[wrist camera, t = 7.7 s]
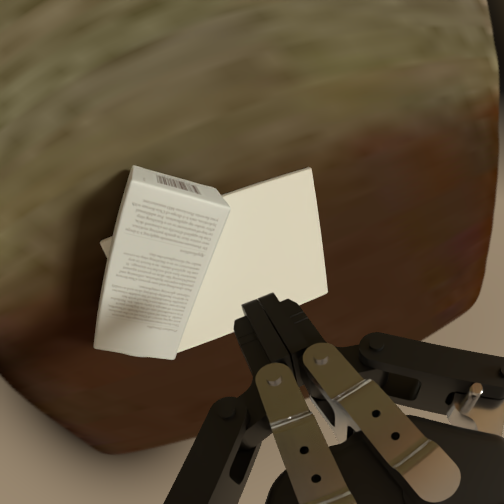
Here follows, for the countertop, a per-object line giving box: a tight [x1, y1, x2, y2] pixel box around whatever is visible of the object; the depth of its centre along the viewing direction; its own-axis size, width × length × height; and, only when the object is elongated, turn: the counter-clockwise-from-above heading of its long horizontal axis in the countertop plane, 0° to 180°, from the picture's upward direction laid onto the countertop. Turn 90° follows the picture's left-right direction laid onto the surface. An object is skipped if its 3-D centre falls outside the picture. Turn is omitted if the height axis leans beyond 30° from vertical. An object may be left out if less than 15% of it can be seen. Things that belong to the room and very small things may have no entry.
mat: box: [100, 167, 328, 353], centre depth 25 cm, size 12×16×1 cm
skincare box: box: [94, 165, 231, 360], centre depth 20 cm, size 6×4×12 cm
